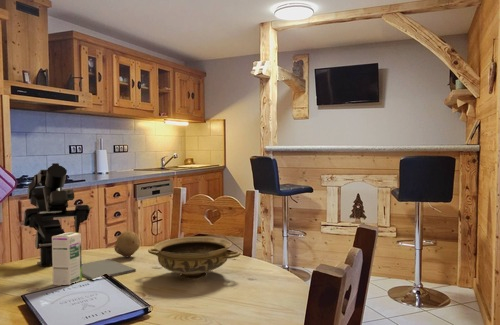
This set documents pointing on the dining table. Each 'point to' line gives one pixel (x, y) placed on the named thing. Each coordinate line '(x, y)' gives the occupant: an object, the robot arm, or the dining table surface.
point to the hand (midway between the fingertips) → (61, 235)
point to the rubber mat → (105, 268)
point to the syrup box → (66, 258)
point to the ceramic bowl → (193, 255)
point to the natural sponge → (127, 243)
